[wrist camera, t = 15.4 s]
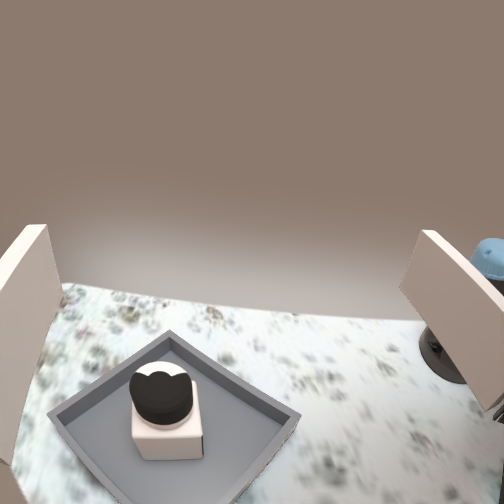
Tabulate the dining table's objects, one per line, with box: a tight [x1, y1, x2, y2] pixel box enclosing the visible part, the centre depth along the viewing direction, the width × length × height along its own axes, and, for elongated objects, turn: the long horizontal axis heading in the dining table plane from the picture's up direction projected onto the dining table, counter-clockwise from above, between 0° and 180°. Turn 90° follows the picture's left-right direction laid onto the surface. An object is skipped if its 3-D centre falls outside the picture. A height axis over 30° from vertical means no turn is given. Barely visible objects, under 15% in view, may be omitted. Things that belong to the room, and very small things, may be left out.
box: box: [47, 330, 302, 504], centre depth 32 cm, size 22×22×4 cm
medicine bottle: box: [129, 361, 204, 460], centre depth 29 cm, size 7×7×12 cm
